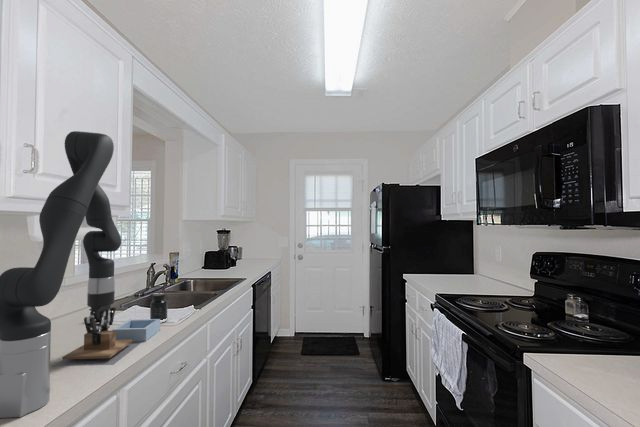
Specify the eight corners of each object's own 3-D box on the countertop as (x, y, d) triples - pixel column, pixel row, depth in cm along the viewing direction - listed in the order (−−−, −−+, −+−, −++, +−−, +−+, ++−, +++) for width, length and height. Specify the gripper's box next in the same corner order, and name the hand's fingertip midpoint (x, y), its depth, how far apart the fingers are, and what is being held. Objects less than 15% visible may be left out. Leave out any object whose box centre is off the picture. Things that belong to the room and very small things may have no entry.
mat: (113, 366, 99) (113, 364, 99) (51, 367, 98) (51, 366, 98) (141, 343, 117) (141, 342, 117) (90, 345, 116) (90, 343, 116)
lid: (109, 358, 101) (110, 339, 101) (62, 359, 100) (62, 340, 100) (132, 341, 114) (132, 325, 115) (91, 342, 113) (91, 326, 114)
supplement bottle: (170, 319, 145) (170, 293, 145) (160, 324, 138) (160, 296, 139) (157, 319, 146) (157, 292, 147) (146, 323, 140) (146, 295, 140)
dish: (146, 342, 118) (146, 328, 118) (112, 343, 117) (112, 329, 117) (160, 331, 130) (160, 318, 130) (129, 332, 129) (129, 319, 129)
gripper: (100, 295, 101) (98, 350, 100) (124, 286, 115) (123, 335, 114) (75, 295, 100) (73, 351, 100) (102, 286, 114) (101, 335, 114)
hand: (100, 342), depth 107 cm, fingers closed on lid, 3 cm apart
